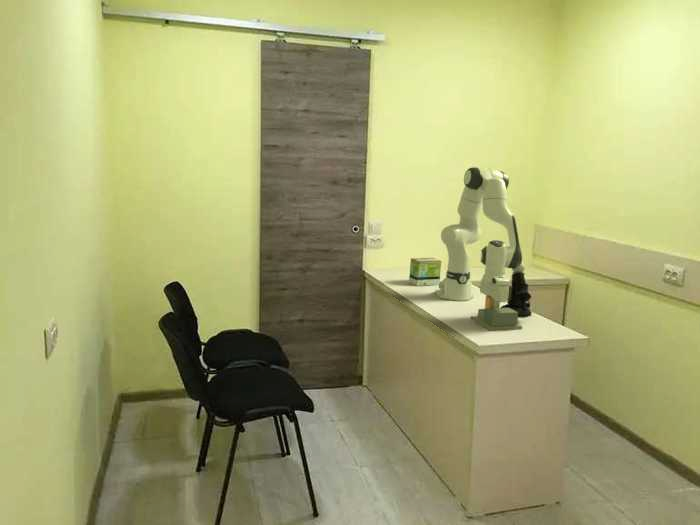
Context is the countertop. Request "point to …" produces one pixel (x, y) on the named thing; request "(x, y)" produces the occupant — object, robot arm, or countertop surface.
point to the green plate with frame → (497, 318)
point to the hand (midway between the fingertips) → (492, 307)
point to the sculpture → (519, 293)
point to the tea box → (425, 271)
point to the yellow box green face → (489, 302)
